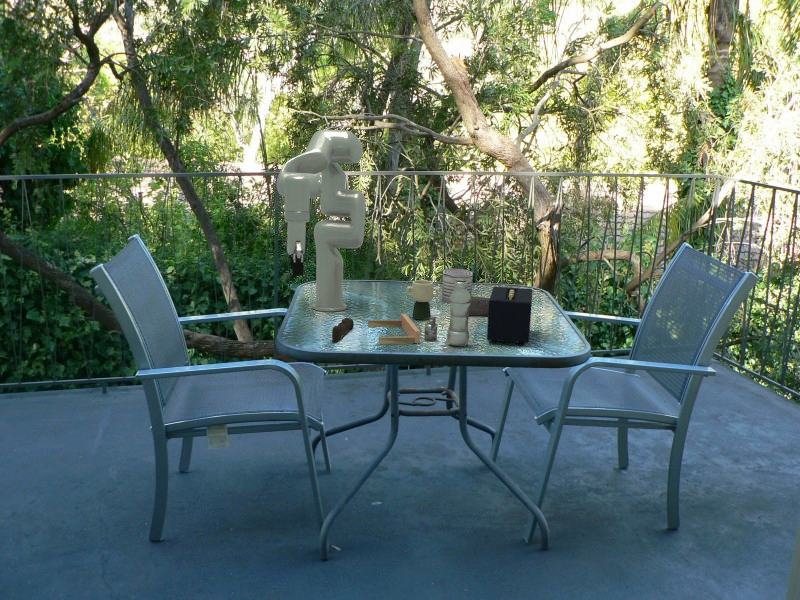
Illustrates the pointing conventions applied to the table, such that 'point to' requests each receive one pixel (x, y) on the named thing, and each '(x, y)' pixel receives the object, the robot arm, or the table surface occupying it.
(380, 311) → the table surface
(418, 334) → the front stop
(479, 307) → the perforated stone tool
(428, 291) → the character mug
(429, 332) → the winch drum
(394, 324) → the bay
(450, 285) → the can
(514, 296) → the speaker
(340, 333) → the dark brown log
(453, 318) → the plastic bottle
